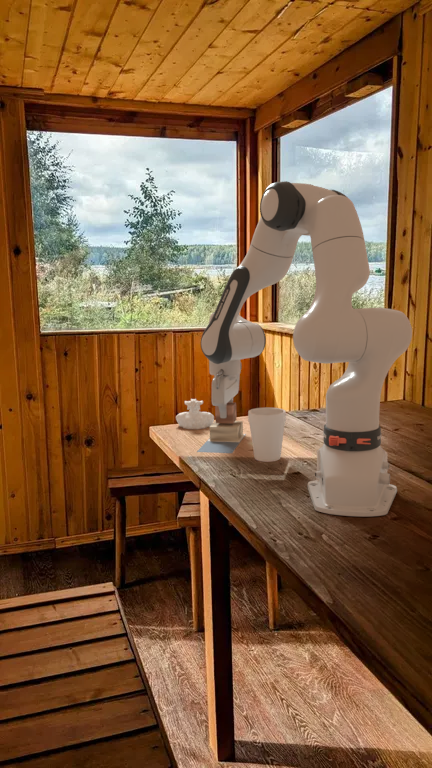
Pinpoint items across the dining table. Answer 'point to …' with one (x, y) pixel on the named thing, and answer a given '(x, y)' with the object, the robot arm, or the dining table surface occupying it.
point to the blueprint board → (220, 446)
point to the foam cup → (267, 432)
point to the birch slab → (226, 431)
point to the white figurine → (194, 416)
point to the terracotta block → (230, 414)
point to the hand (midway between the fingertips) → (226, 415)
